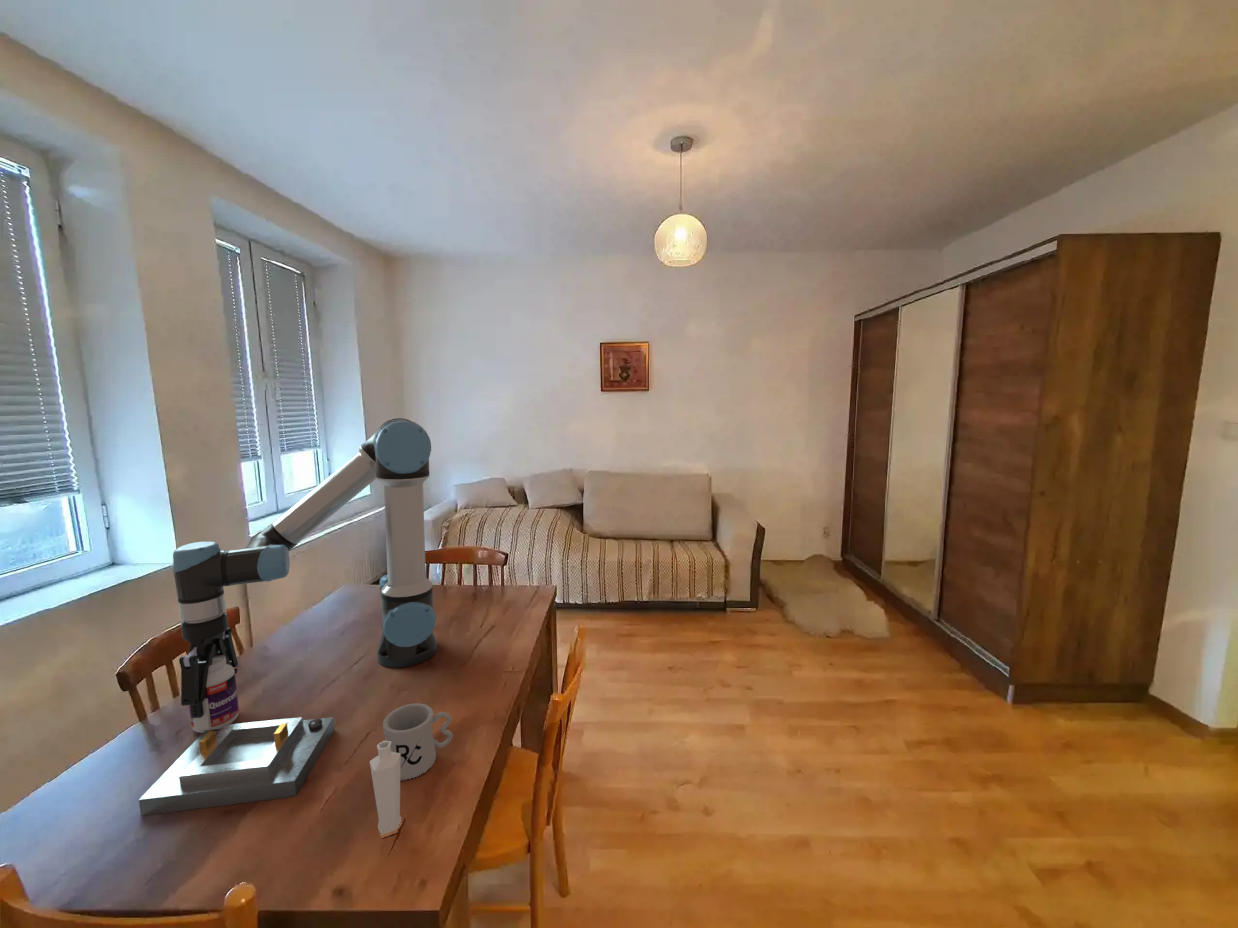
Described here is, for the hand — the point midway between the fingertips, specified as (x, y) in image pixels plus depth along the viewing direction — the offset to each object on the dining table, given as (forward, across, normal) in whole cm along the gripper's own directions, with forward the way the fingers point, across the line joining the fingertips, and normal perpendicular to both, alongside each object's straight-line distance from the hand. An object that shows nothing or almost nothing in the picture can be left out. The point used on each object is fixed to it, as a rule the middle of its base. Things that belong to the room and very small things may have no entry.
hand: (215, 715), depth 109 cm
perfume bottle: (+2, +35, +44) cm, 56 cm away
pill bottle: (+2, 0, 0) cm, 2 cm away
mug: (+2, +20, +46) cm, 50 cm away
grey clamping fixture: (+2, +16, +14) cm, 21 cm away
